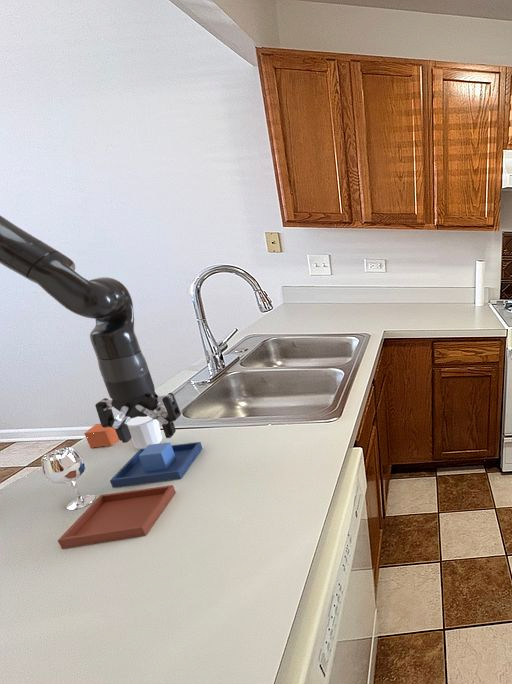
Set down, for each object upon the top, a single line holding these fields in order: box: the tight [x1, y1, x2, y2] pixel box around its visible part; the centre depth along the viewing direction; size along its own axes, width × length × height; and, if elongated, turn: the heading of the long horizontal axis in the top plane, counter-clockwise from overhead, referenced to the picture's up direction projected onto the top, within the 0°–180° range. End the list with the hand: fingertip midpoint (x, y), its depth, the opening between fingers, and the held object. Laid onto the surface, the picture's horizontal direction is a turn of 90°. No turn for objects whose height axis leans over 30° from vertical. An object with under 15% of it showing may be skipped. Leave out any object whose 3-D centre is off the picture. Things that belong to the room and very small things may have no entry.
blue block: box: [139, 441, 176, 472], centre depth 92 cm, size 4×4×4 cm
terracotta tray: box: [57, 484, 177, 550], centre depth 78 cm, size 13×12×2 cm
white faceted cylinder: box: [124, 416, 163, 450], centre depth 101 cm, size 7×7×7 cm
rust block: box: [84, 423, 119, 449], centre depth 102 cm, size 4×4×4 cm
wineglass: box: [40, 446, 97, 511], centre depth 80 cm, size 6×6×12 cm
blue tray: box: [109, 441, 203, 489], centre depth 93 cm, size 13×12×2 cm
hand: (149, 438), depth 90 cm, fingers open, 8 cm apart
